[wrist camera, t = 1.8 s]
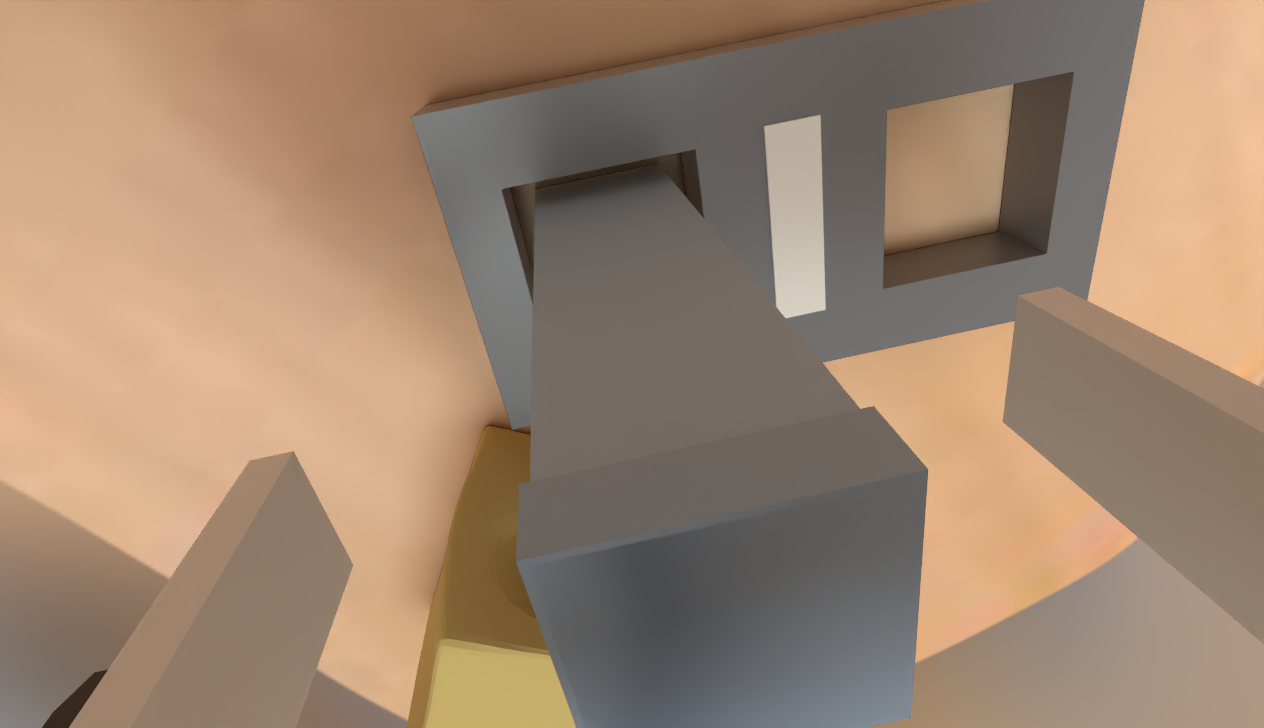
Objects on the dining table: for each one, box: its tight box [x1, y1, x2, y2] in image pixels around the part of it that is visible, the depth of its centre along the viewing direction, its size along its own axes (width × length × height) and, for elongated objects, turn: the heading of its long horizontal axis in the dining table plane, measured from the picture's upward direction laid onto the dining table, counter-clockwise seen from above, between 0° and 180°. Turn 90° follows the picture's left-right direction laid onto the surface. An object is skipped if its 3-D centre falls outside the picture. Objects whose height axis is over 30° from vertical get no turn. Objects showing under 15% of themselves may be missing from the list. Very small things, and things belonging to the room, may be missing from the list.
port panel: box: [411, 0, 1145, 430], centre depth 20 cm, size 10×20×3 cm, turn 100°
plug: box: [516, 164, 928, 728], centre depth 14 cm, size 4×4×16 cm
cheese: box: [407, 426, 576, 728], centre depth 23 cm, size 10×11×10 cm
